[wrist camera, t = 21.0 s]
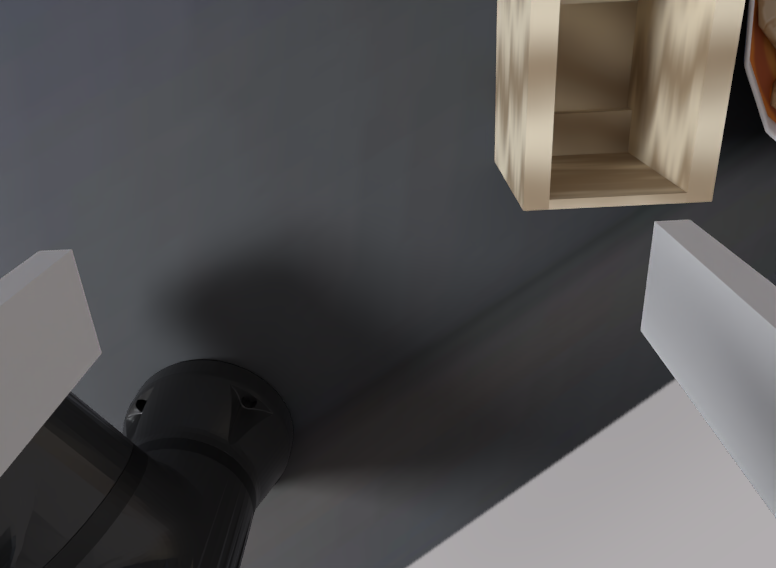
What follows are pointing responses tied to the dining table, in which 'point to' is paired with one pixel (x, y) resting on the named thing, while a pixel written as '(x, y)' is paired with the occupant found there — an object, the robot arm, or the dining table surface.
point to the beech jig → (612, 99)
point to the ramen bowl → (762, 59)
